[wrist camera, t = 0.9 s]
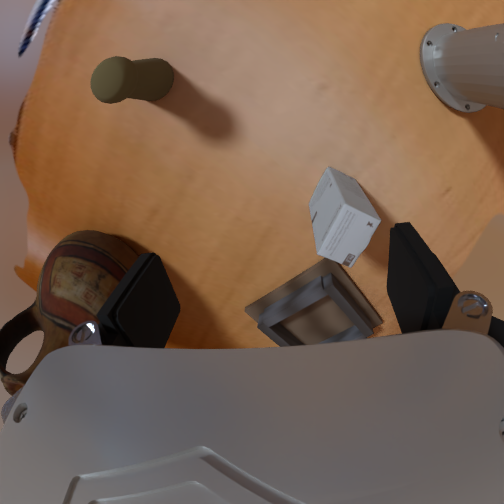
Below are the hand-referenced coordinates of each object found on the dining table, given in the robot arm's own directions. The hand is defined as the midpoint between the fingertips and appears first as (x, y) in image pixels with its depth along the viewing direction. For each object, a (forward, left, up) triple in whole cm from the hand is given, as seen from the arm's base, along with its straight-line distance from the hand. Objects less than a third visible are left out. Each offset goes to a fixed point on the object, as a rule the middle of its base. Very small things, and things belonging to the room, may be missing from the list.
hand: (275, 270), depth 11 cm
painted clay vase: (+36, -4, -27) cm, 45 cm away
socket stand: (+13, +25, -26) cm, 38 cm away
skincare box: (-1, +9, -27) cm, 28 cm away
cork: (+6, -18, -27) cm, 33 cm away
